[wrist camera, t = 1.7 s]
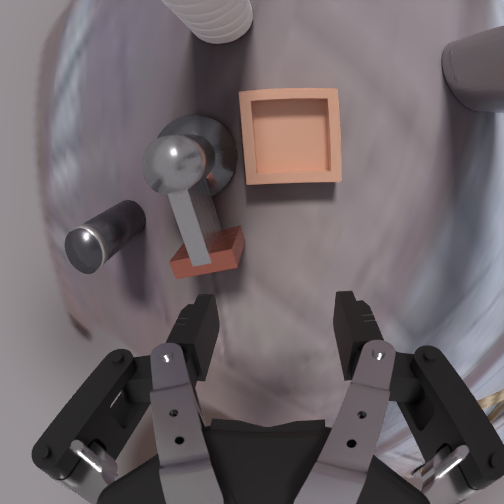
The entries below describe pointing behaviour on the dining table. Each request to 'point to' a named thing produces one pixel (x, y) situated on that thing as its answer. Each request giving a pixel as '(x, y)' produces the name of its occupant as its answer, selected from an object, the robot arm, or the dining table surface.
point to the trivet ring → (491, 400)
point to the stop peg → (104, 236)
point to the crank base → (218, 140)
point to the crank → (192, 204)
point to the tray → (291, 135)
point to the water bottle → (214, 18)
